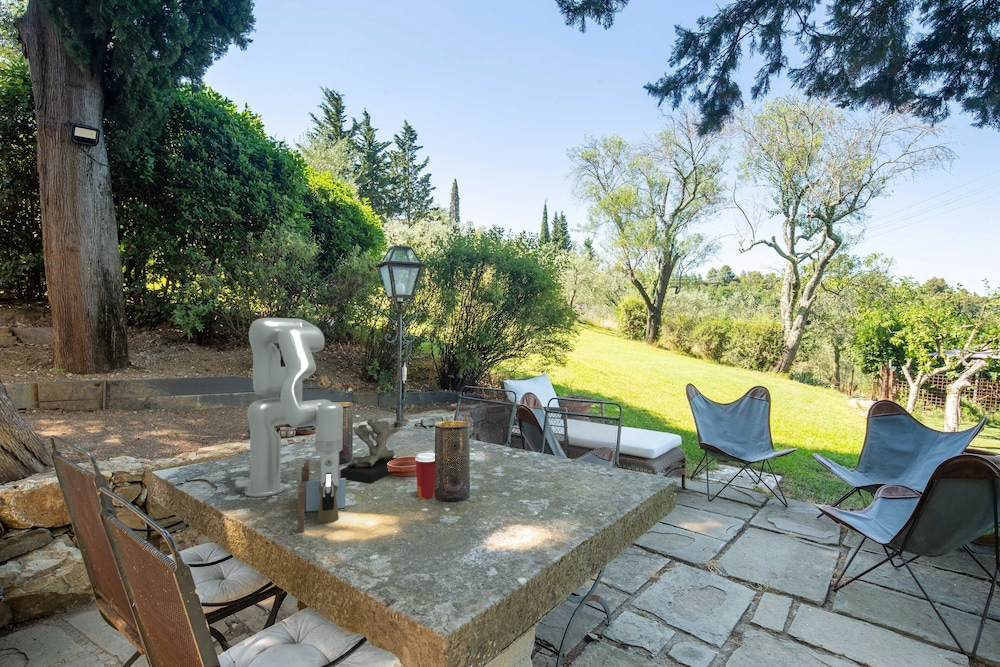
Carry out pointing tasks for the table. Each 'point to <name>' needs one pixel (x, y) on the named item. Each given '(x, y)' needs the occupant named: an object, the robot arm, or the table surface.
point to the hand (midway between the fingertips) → (328, 504)
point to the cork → (328, 515)
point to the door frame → (302, 496)
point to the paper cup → (425, 475)
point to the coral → (373, 452)
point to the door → (314, 495)
